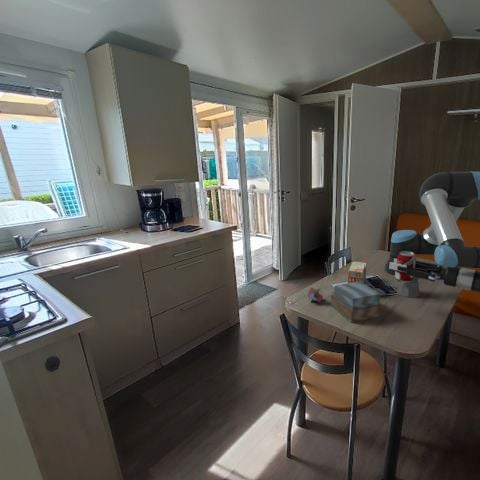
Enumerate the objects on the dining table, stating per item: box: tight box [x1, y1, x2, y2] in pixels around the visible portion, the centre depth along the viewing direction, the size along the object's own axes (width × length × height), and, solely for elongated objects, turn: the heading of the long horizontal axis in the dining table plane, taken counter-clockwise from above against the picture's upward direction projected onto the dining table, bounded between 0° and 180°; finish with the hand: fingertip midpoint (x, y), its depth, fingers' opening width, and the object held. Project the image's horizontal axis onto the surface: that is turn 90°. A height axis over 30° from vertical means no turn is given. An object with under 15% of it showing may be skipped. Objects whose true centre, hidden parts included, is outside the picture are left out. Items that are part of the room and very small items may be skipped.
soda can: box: [394, 251, 417, 282], centre depth 121 cm, size 7×7×12 cm
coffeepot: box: [396, 277, 420, 298], centre depth 136 cm, size 15×9×18 cm, turn 107°
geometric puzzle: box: [307, 287, 324, 304], centre depth 134 cm, size 7×7×8 cm
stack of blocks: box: [347, 261, 367, 284], centre depth 147 cm, size 21×6×12 cm, turn 151°
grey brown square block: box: [329, 281, 384, 323], centre depth 124 cm, size 15×15×10 cm
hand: (391, 263), depth 123 cm, fingers closed on soda can, 5 cm apart
